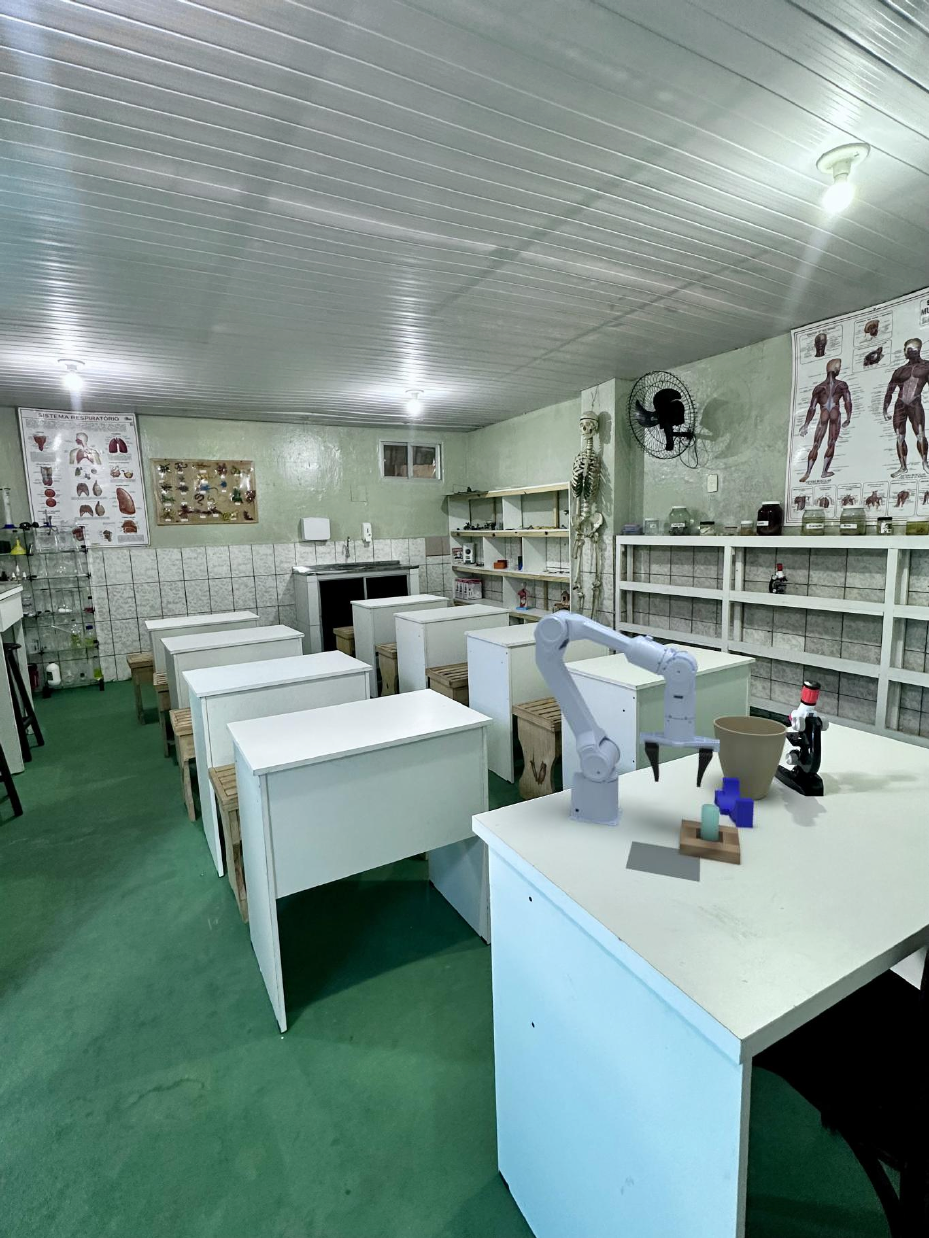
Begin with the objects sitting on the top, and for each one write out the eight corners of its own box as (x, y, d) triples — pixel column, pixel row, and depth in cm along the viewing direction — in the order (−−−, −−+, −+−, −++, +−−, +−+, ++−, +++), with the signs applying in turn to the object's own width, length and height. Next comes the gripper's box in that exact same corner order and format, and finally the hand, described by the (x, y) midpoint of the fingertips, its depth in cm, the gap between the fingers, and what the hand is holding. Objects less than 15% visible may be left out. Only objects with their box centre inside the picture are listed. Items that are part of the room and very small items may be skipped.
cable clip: (714, 803, 129) (715, 776, 129) (736, 804, 129) (737, 778, 128) (728, 829, 118) (729, 800, 117) (752, 830, 117) (753, 801, 116)
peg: (699, 850, 110) (701, 809, 108) (700, 843, 112) (702, 802, 111) (717, 853, 108) (718, 812, 107) (718, 846, 111) (719, 805, 110)
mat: (625, 870, 103) (625, 867, 103) (632, 843, 113) (632, 841, 113) (699, 883, 99) (699, 881, 99) (700, 854, 108) (700, 852, 108)
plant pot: (799, 804, 128) (803, 732, 126) (734, 809, 126) (737, 737, 124) (757, 777, 142) (760, 713, 140) (698, 781, 140) (700, 716, 138)
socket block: (679, 856, 108) (679, 843, 107) (681, 831, 117) (681, 819, 116) (739, 866, 104) (740, 853, 104) (737, 839, 113) (737, 827, 113)
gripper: (638, 717, 113) (636, 785, 115) (720, 724, 108) (718, 795, 110) (641, 707, 120) (640, 772, 121) (719, 714, 114) (717, 781, 116)
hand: (677, 782), depth 116 cm, fingers open, 7 cm apart
